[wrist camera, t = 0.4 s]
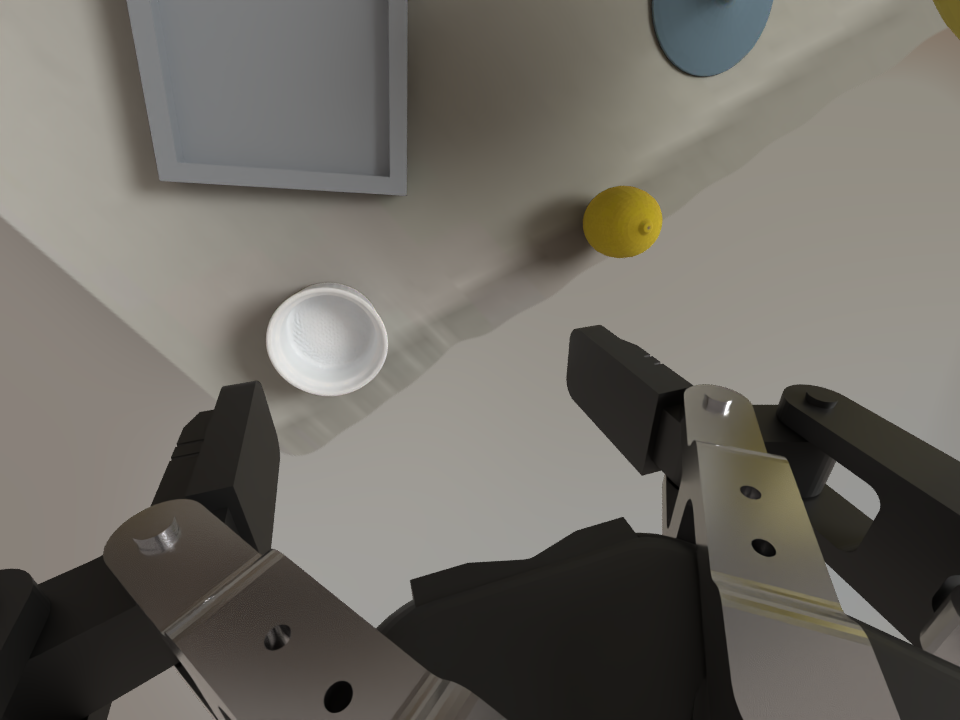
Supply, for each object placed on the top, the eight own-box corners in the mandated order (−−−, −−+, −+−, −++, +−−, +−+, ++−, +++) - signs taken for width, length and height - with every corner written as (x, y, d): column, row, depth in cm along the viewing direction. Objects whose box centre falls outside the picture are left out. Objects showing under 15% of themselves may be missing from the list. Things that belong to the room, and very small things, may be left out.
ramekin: (403, 345, 40) (408, 363, 36) (315, 392, 40) (310, 415, 36) (350, 256, 36) (348, 266, 32) (252, 307, 36) (238, 323, 32)
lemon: (596, 262, 41) (645, 280, 34) (556, 223, 39) (599, 234, 32) (637, 213, 41) (696, 221, 33) (597, 170, 38) (652, 169, 31)
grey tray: (114, -168, 25) (89, -202, 23) (404, -104, 29) (408, -128, 27) (174, 180, 32) (159, 180, 29) (404, 194, 35) (406, 195, 33)
